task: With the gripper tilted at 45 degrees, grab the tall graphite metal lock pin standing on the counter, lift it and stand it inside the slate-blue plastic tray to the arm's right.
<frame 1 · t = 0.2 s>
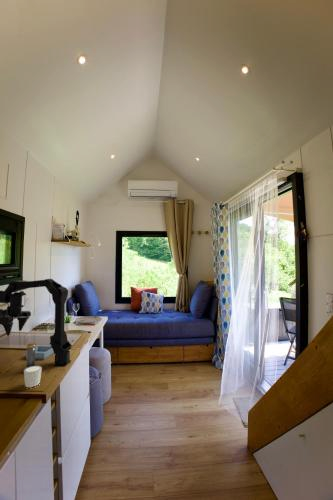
hand: (14, 333, 134), 15 cm above the countertop, tool pointing down, fingers open, 9 cm apart
pin tray: (40, 355, 142), on the countertop
white cup: (32, 385, 108), on the countertop
lock pin: (30, 370, 122), on the countertop
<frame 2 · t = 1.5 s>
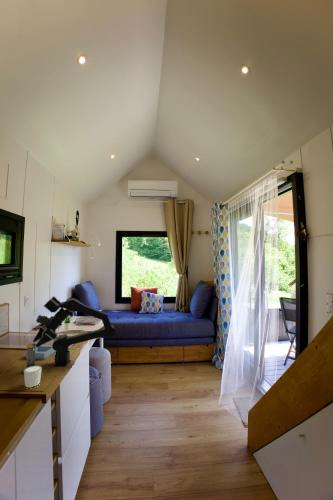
hand: (34, 344, 124), 12 cm above the countertop, tool tilted 45°, fingers open, 9 cm apart
nothing on the countertop moved.
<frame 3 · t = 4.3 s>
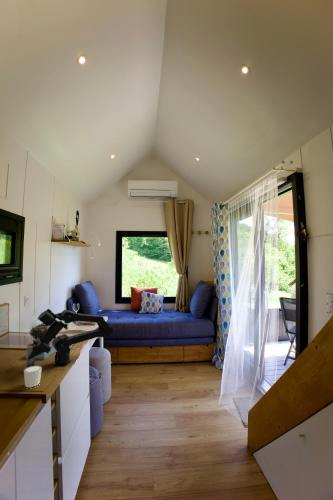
hand: (27, 357, 122), 7 cm above the countertop, tool tilted 45°, fingers closed on lock pin, 4 cm apart
lock pin: (30, 370, 122), on the countertop, touching gripper
everything else where it was.
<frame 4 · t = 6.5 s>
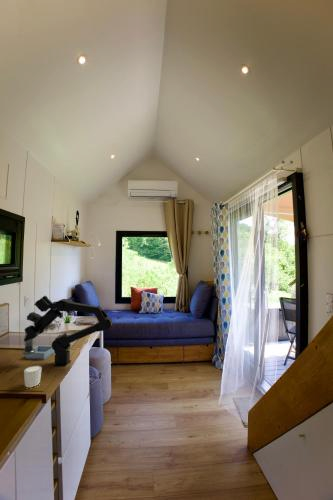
hand: (26, 339, 130), 13 cm above the countertop, tool tilted 45°, fingers closed on lock pin, 4 cm apart
lock pin: (28, 352, 130), point 6 cm above the countertop, touching gripper
everything else where it was.
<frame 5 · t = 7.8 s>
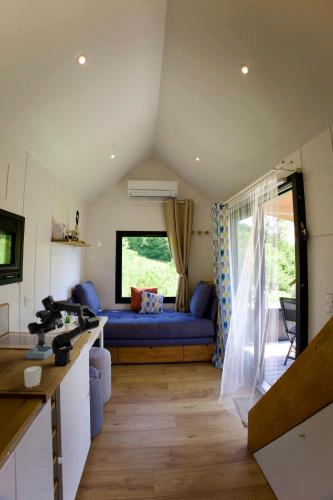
hand: (40, 334, 143), 12 cm above the countertop, tool tilted 45°, fingers closed on lock pin, 4 cm apart
lock pin: (41, 346, 142), point 5 cm above the countertop, touching gripper
everything else where it was.
when the fingers open (9 cm above the countertop, at t = 9.0 s): lock pin drops 1 cm, resting on pin tray.
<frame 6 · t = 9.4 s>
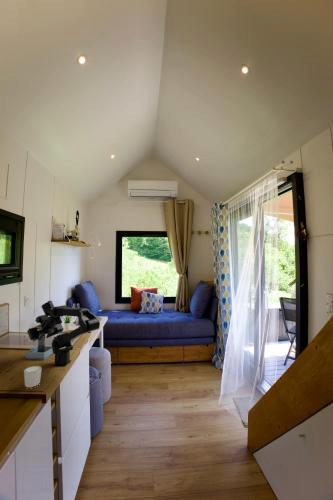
hand: (40, 339, 143), 9 cm above the countertop, tool tilted 45°, fingers open, 8 cm apart
lock pin: (41, 354, 142), point 1 cm above the countertop, touching pin tray
everything else where it was.
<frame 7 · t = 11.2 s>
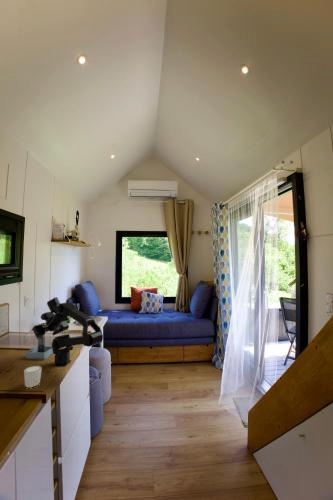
hand: (45, 336, 140), 11 cm above the countertop, tool tilted 45°, fingers open, 9 cm apart
nothing on the countertop moved.
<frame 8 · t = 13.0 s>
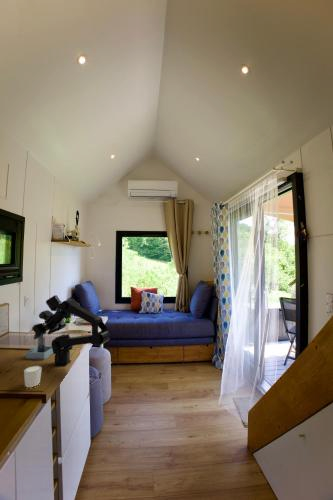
hand: (41, 336, 136), 13 cm above the countertop, tool tilted 45°, fingers open, 9 cm apart
nothing on the countertop moved.
at the end: lock pin inside the target area on the pin tray (0.0 cm from its centre), point 0.8 cm above the pin tray's base; the gripper is holding nothing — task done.
